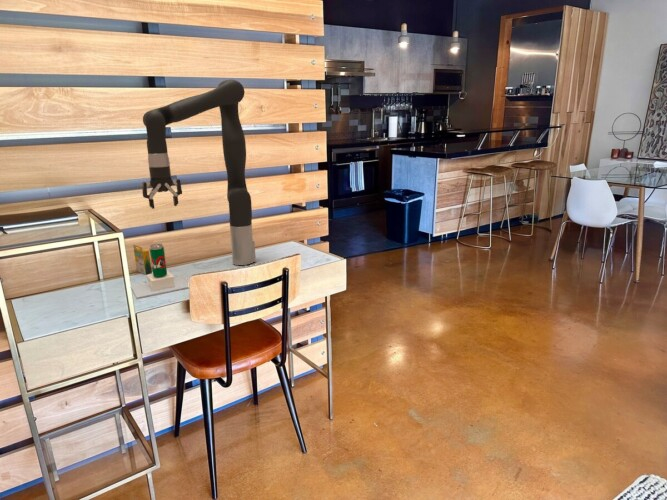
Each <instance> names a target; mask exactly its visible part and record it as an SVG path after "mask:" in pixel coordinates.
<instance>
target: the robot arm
mask: <svg viewBox="0 0 667 500" xmlns="http://www.w3.org/2000/svg"><path fill="white" fill-rule="evenodd" d="M244 97H245V88H244V86H243V84H242V83H241V82H240V81H238V80H235V79H227V80H223V81H221V82H220V83H218V86H217V87H216V88H213V89H211V90H208V91H207V92H204V93H200V94H196V95H193V96H189V97H186V98H182V99H180V100H177V101H174V102H171V103H169V104H167V105H164V106H161V107H157V108H153V109H151V110H148V111H145V113H144V115H143V116H142V123H143V125H144V127H146V128H145V129H146V136H147V139H146V148H147V149H146V150H147V162H148V171H149V177H150V180H149V181H142V182H141V187H142V188H141V189H142V197H143V198H144V199H148V204H149V205H148V206H149V207H150V208H151V210H152V209H153V210H154V209H155V201H154V196H155V195H156V194H157V192H158V193H162V192H163V193H166V192H170V193H171V194H172V195H173V196H172V198H173V199H172V201H173V206H174V207H177V206H178V205H179V196H180V195H182V194H183V190H182V184H181V180H180V179H178V178H176V179H172V175H171V174H172V171H171V163H170V158H169V154H168V152H169V151H168V145H167V140H166V139H167V138H166V137H167V132H166V131H167V127H166V126H167V125H170V124H173V123H179V122H181V121H185V120H187V119H190V118H192V117H195V116H197V115H199V114H202V113H205V112H207V111H209V110H213V109H216V108H218V107H219V111H220V117H221V118H220V119H221V120H220V122H221V138H222V139H221V141H222V142H221V143H222V151H223V152H222V153H223V160H224V165H225V169H226V177H227V192H226V197H227V199H226V200H227V202H228V210H229V211H228V212H229V230H230V245H231V257H232V258H231V260H232V265H234V264H235V265H234V266H238V265H244V264H250V263H253V262H255V263H257V262H256V260H257V259H256V244H255V243H256V241H255V240H254V238H253V223H252V219H253V213H252V212H253V211H252V210H253V209H252V207H253V206H252V197H251V195H250V192H249V191H248V188H247V183H246V182H247V181H246V163H247V147H246V146H247V145H246V144H247V143H246V138H245V137H246V136H245V132H244V130H243V125H242V124H241V121H240V115H239V103H240V102H242V101H243V99H244ZM173 184H174V185H175V186H176V191H175V189H173V187H172V185H173ZM149 186H151V190H150V191H149V194H148V188H149ZM253 264H254V263H253ZM250 265H251V264H250Z"/></svg>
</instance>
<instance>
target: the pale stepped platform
mask: <svg viewBox="0 0 667 500" xmlns="http://www.w3.org/2000/svg"><path fill="white" fill-rule="evenodd" d="M146 278H147V281H146V282H142V283H136V284H131V285H132V289H131V291H132V293H133V295H134V296H135V298H136V299H137V300H139V299H144V298H149V297H154V296H158V295H163V294H168V293H173V292H177V291H183V290H187V289H189V288H188V281H189V280H188V279H187V278H186V277H185V276H184V275H178V276H174V275H173V274H172V273H171V272H170V271H169V270H167V275H166V276H164V277H160V278H157V277H154V276H153V273H149V274H146Z"/></svg>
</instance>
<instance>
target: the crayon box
mask: <svg viewBox="0 0 667 500" xmlns="http://www.w3.org/2000/svg"><path fill="white" fill-rule="evenodd" d="M132 247H133V254H134V259H135V260H134V261H135V268H136V272H139V273H141V274H142V275H146V276H147V275H149V274H153V272H152V264H151V257H150V249H149V250H148V249H146V248H143V247H141V246H139V245H136V244H133V246H132Z"/></svg>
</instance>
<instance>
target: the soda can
mask: <svg viewBox="0 0 667 500" xmlns="http://www.w3.org/2000/svg"><path fill="white" fill-rule="evenodd" d="M149 246H150V247H149V255H150V263H151V271H152V274H153V276H154V277H157V278H160V277H164V276H166V275H167V271H168V270H167V261H166V253H165V247H164V245H163V244H162V243H154V244H151V245H149Z"/></svg>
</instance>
